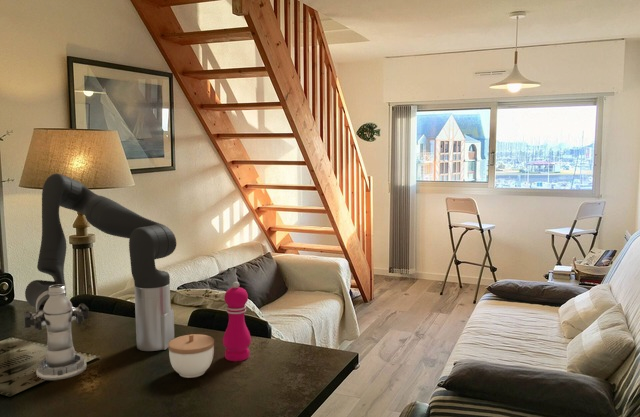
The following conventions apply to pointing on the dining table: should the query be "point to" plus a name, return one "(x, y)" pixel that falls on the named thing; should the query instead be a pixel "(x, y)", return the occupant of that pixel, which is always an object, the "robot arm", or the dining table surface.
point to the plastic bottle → (58, 328)
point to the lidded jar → (191, 354)
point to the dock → (61, 369)
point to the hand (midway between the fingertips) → (60, 322)
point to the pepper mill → (236, 325)
